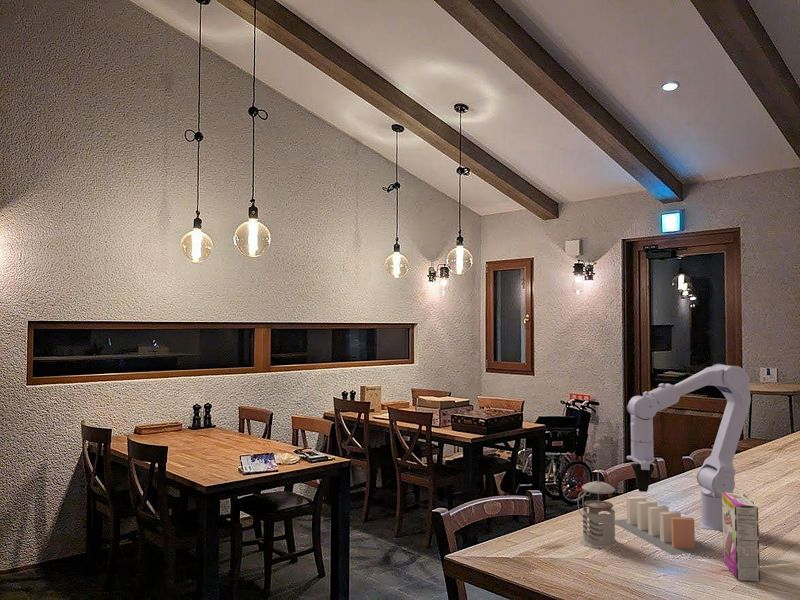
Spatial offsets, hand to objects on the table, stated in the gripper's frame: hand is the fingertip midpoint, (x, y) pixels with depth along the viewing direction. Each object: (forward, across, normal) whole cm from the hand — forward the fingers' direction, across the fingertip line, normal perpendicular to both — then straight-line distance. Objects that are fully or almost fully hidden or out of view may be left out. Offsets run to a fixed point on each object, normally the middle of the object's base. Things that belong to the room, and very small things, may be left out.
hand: (642, 491), depth 182 cm
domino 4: (+10, +10, +5) cm, 15 cm away
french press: (+10, +14, -13) cm, 22 cm away
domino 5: (+10, +15, +8) cm, 19 cm away
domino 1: (+10, -3, -1) cm, 10 cm away
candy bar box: (+10, +29, +18) cm, 35 cm away
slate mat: (+10, +6, +3) cm, 12 cm away
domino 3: (+10, +6, +3) cm, 12 cm away
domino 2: (+10, +2, +1) cm, 10 cm away
